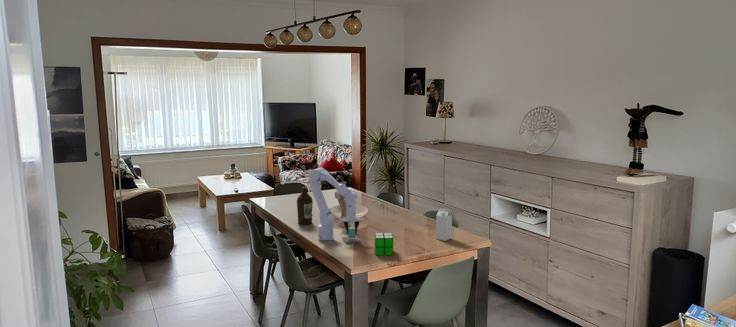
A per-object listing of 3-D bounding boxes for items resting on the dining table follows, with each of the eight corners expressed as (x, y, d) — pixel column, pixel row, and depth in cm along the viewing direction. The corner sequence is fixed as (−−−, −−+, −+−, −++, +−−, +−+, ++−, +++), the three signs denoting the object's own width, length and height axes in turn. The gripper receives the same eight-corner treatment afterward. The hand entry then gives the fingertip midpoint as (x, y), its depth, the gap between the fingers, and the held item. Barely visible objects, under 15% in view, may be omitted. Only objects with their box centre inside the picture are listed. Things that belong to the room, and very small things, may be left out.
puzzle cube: (391, 249, 303) (391, 232, 301) (393, 255, 293) (393, 238, 291) (374, 249, 303) (374, 233, 301) (375, 255, 293) (375, 238, 291)
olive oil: (294, 223, 358) (293, 187, 354) (306, 220, 365) (306, 185, 361) (303, 226, 350) (302, 189, 346) (316, 223, 357) (315, 187, 354)
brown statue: (350, 224, 356) (350, 180, 351) (350, 227, 349) (350, 182, 344) (335, 224, 356) (335, 180, 351) (334, 227, 348) (334, 182, 344)
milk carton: (441, 236, 329) (442, 206, 326) (451, 238, 324) (452, 208, 321) (435, 238, 323) (436, 208, 320) (445, 241, 319) (446, 210, 316)
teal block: (348, 238, 315) (348, 229, 314) (347, 236, 319) (347, 227, 318) (355, 237, 316) (355, 229, 315) (354, 235, 320) (354, 227, 319)
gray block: (346, 244, 313) (346, 241, 312) (342, 240, 321) (342, 237, 321) (360, 243, 315) (360, 240, 315) (356, 239, 324) (356, 236, 323)
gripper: (339, 214, 310) (339, 236, 313) (364, 213, 312) (364, 235, 314) (338, 211, 317) (338, 232, 319) (362, 210, 319) (362, 232, 321)
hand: (351, 233), depth 317 cm, fingers closed on teal block, 4 cm apart
